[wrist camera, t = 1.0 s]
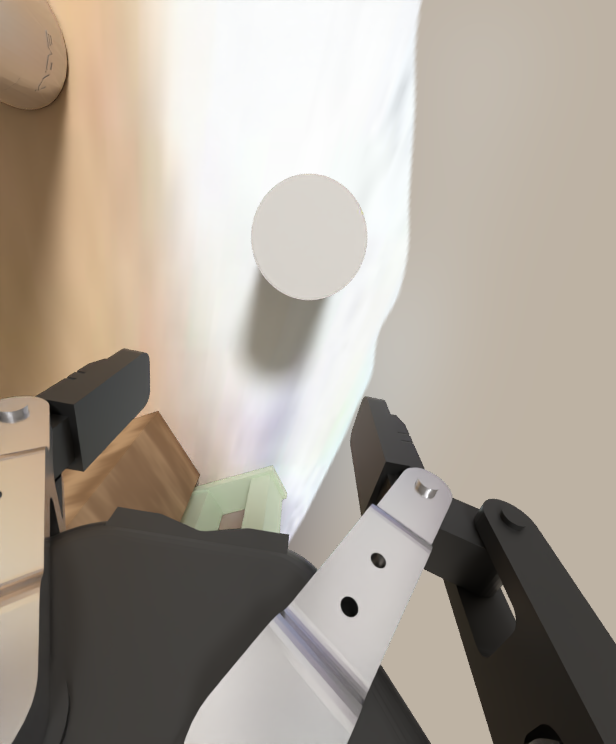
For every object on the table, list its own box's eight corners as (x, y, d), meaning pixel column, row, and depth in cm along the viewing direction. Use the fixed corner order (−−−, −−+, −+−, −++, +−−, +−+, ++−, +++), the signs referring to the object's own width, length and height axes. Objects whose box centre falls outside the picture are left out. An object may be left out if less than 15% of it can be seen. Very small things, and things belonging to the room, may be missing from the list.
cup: (333, 284, 34) (347, 311, 24) (262, 266, 34) (243, 285, 23) (355, 205, 31) (383, 193, 20) (277, 182, 30) (262, 157, 19)
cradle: (206, 514, 50) (139, 712, 29) (188, 488, 47) (102, 685, 27) (286, 493, 48) (274, 688, 28) (272, 465, 46) (248, 657, 25)
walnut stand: (119, 497, 48) (-162, 910, 19) (70, 439, 43) (-410, 875, 14) (199, 474, 46) (26, 890, 17) (158, 411, 41) (-183, 843, 12)
